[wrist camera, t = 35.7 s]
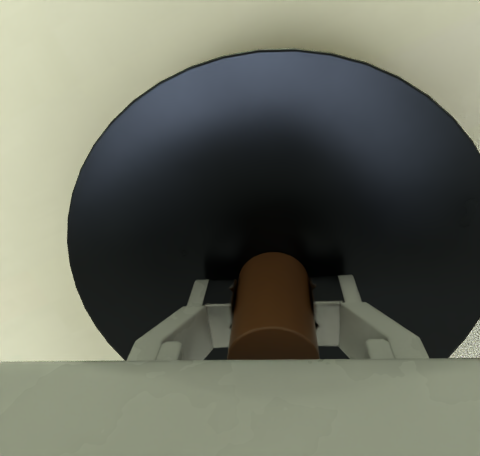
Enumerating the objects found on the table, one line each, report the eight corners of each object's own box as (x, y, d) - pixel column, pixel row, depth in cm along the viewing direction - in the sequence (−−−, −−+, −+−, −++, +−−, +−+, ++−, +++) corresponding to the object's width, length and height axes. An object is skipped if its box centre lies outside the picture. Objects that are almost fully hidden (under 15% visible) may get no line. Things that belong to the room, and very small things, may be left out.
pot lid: (534, 20, 11) (728, 9, 6) (450, 400, 18) (511, 528, 13) (24, 72, 13) (-121, 93, 8) (129, 398, 20) (84, 510, 15)
